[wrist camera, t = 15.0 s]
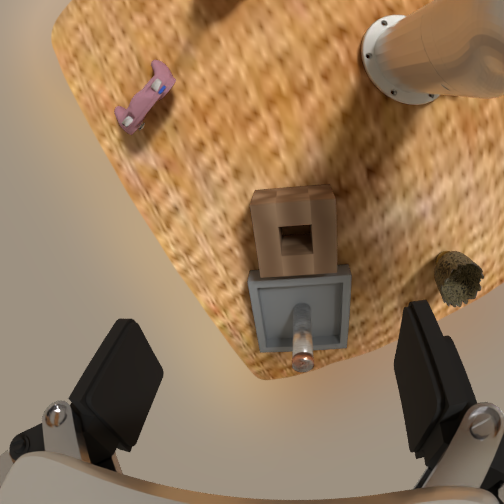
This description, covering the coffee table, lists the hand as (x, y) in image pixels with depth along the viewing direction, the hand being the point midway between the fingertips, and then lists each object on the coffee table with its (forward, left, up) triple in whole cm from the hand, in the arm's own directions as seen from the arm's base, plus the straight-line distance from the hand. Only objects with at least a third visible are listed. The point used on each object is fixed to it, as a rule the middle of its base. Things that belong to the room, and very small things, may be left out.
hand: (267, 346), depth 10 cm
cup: (-25, +17, -33) cm, 44 cm away
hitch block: (-1, +9, -32) cm, 34 cm away
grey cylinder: (-1, +24, -31) cm, 40 cm away
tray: (-1, +24, -32) cm, 40 cm away
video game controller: (+17, -11, -33) cm, 38 cm away
